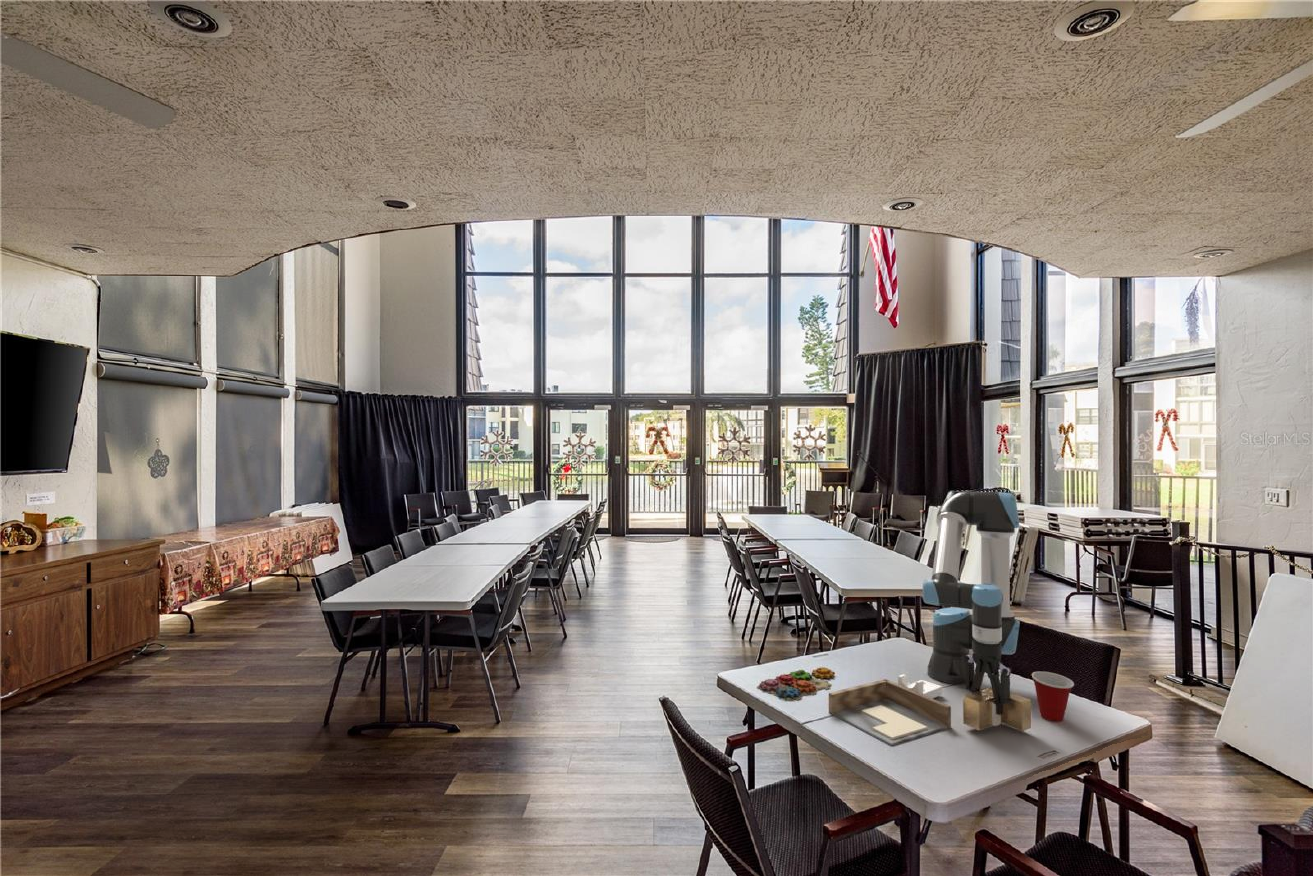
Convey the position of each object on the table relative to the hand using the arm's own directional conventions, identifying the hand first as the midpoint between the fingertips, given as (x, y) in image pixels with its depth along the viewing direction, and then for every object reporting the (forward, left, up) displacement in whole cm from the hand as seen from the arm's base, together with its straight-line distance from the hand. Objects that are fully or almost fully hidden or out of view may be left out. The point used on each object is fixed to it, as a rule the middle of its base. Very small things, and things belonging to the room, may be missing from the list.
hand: (987, 720), depth 186 cm
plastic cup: (-23, +5, -2) cm, 23 cm away
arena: (+21, -17, -2) cm, 27 cm away
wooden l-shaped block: (0, +3, 0) cm, 3 cm away
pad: (+24, -15, -1) cm, 29 cm away
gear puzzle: (+25, -50, -3) cm, 56 cm away
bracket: (-1, -24, -2) cm, 24 cm away
